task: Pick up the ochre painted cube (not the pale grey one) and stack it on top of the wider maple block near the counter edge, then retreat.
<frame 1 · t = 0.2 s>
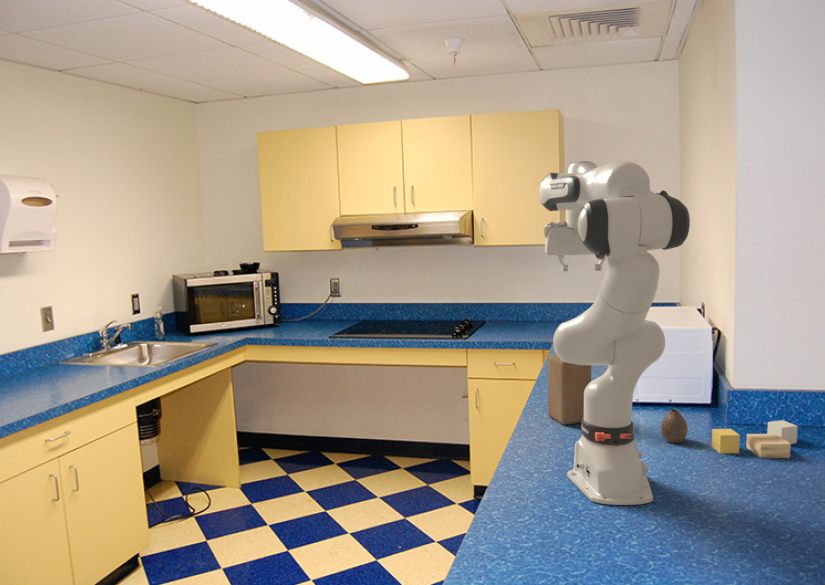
hand: (581, 270, 180), 48 cm above the worktop, fingers open, 8 cm apart
block: (569, 420, 199), on the worktop
grey cube: (781, 441, 176), on the worktop
maple base: (767, 453, 169), on the worktop
ochre cube: (725, 450, 171), on the worktop
vase: (673, 441, 178), on the worktop
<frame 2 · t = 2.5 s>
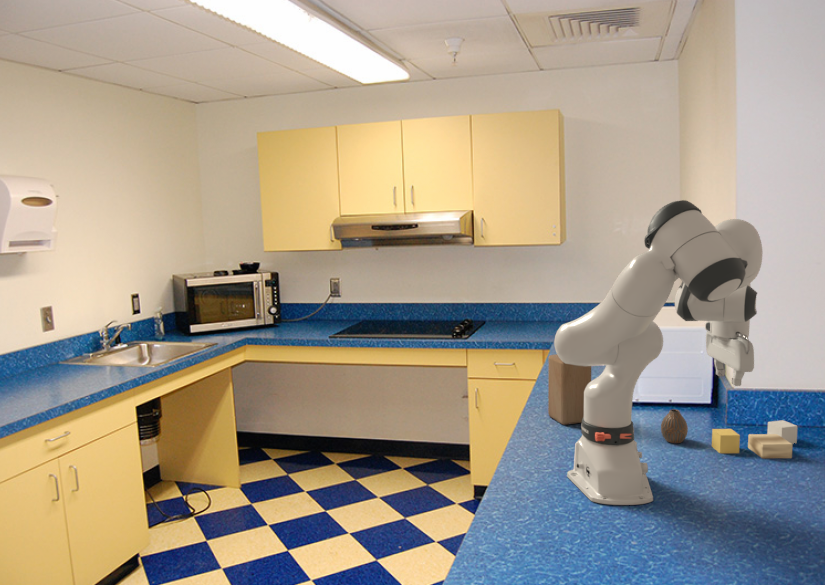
hand: (728, 380, 169), 19 cm above the worktop, fingers open, 8 cm apart
nothing on the worktop moved.
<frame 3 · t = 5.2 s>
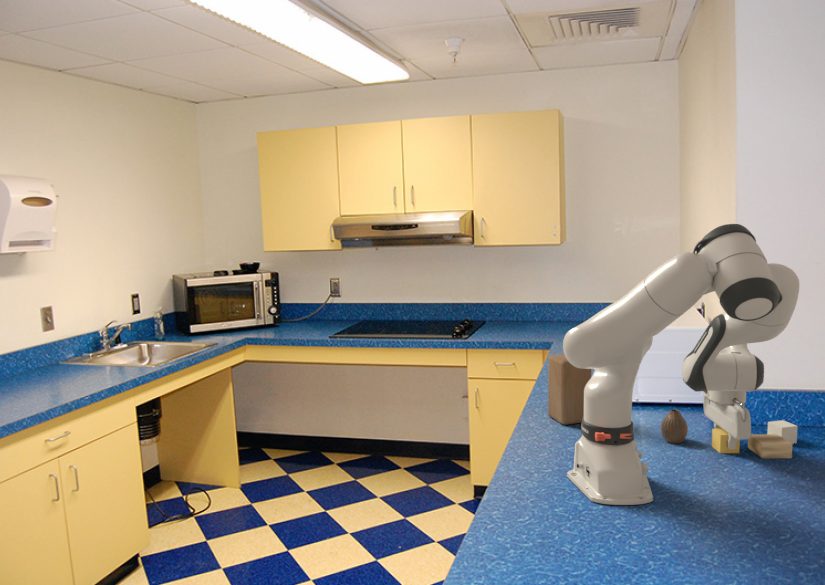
hand: (725, 443, 171), 2 cm above the worktop, fingers closed on ochre cube, 5 cm apart
ochre cube: (725, 449, 171), on the worktop, touching gripper
everything else where it was.
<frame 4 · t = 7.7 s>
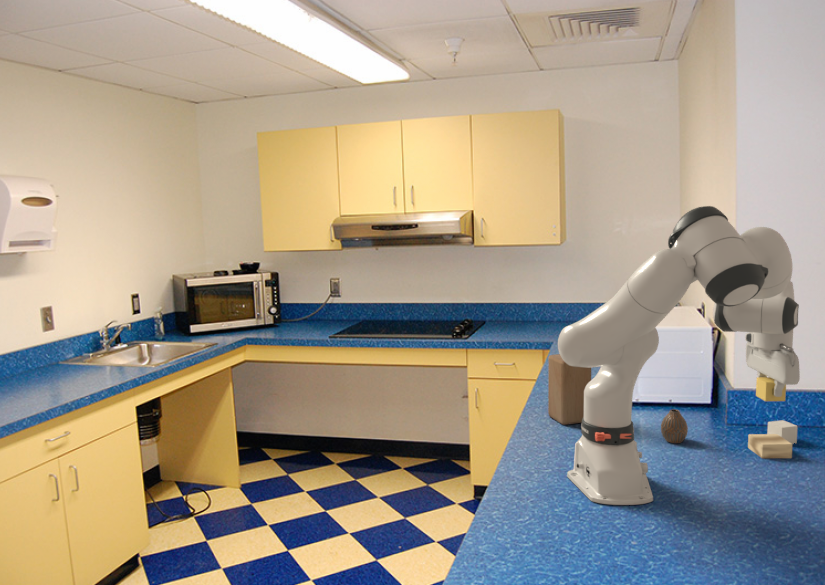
hand: (770, 392, 167), 16 cm above the worktop, fingers closed on ochre cube, 5 cm apart
ochre cube: (770, 398, 167), point 15 cm above the worktop, touching gripper
everything else where it was.
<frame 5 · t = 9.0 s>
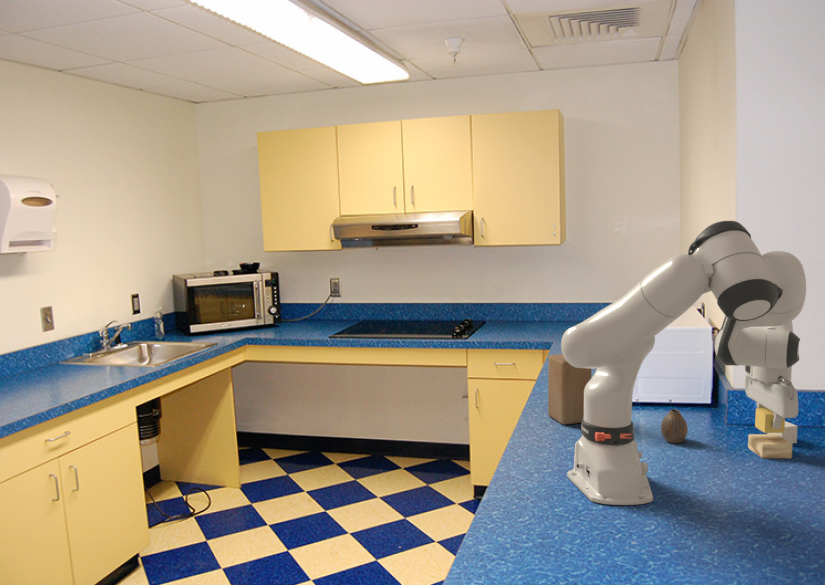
hand: (769, 423, 167), 8 cm above the worktop, fingers closed on ochre cube, 5 cm apart
ochre cube: (769, 429, 168), point 6 cm above the worktop, touching gripper
everything else where it was.
when the fingers open (7 cm above the worktop, at t = 10.2 s): ochre cube drops 1 cm, resting on maple base.
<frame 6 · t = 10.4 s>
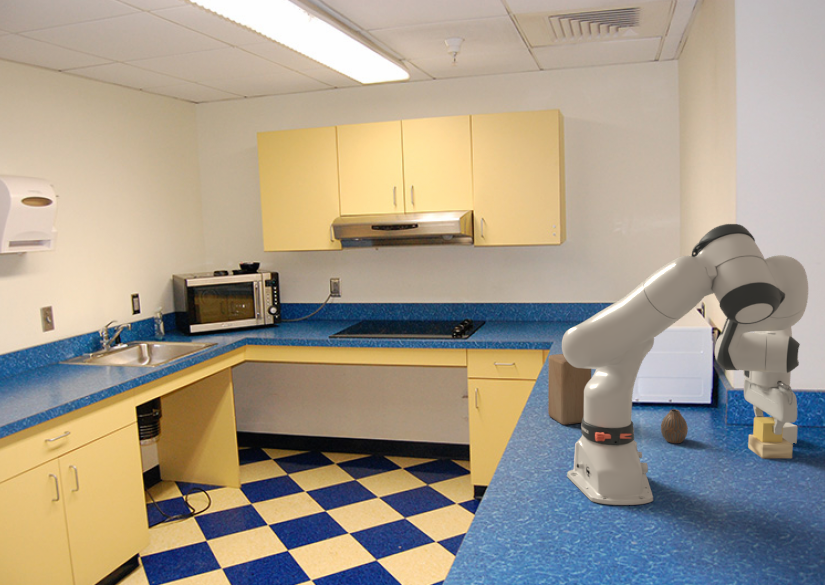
hand: (768, 428, 168), 7 cm above the worktop, fingers open, 7 cm apart
maple base: (769, 453, 168), on the worktop, touching ochre cube
ochre cube: (767, 438, 168), point 4 cm above the worktop, touching maple base
everything else where it was.
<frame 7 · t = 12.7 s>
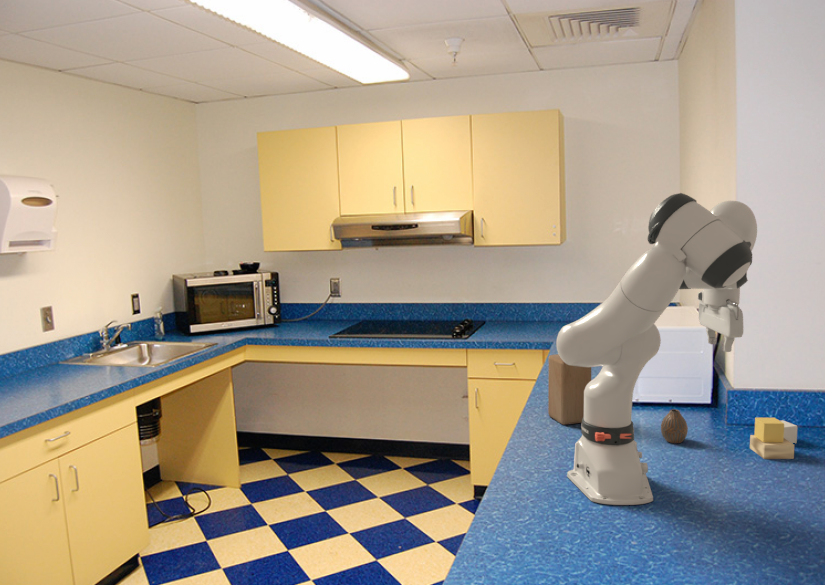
hand: (719, 347, 175), 26 cm above the worktop, fingers open, 8 cm apart
nothing on the worktop moved.
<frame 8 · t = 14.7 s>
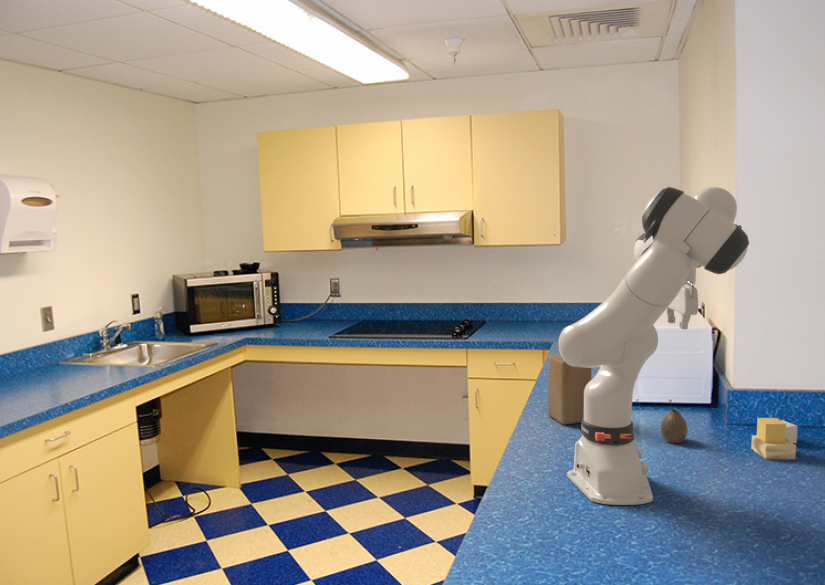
hand: (677, 325, 182), 31 cm above the worktop, fingers open, 8 cm apart
maple base: (772, 454, 168), on the worktop
ochre cube: (770, 439, 168), point 4 cm above the worktop
everything else where it was.
at the end: ochre cube 0.6 cm off-centre on the maple base, point 4.0 cm above the maple base's base; ochre cube tilted 0°; the gripper is holding nothing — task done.
